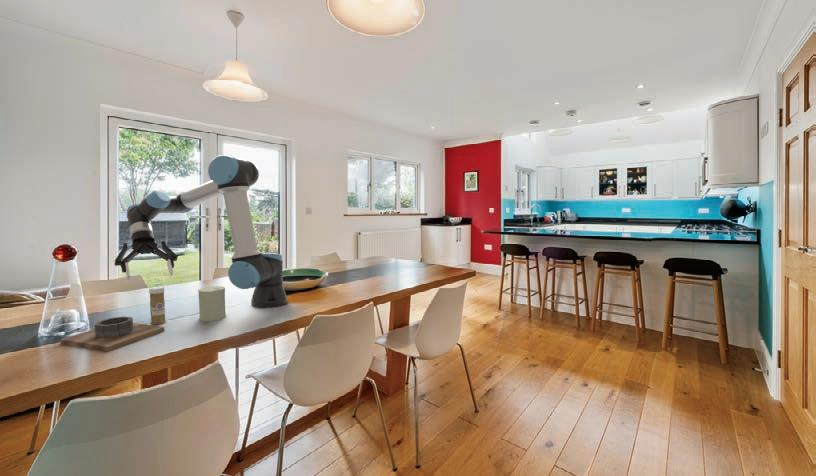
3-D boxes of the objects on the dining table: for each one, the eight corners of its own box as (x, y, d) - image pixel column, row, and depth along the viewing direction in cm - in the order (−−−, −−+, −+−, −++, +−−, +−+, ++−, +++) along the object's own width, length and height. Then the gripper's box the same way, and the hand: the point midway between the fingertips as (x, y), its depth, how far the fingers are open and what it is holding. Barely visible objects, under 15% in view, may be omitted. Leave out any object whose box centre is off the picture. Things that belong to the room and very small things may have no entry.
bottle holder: (164, 331, 120) (163, 315, 119) (107, 351, 103) (106, 333, 102) (121, 325, 125) (120, 310, 124) (60, 344, 108) (59, 326, 107)
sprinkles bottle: (156, 325, 125) (154, 289, 124) (147, 323, 127) (146, 288, 126) (168, 321, 129) (167, 286, 128) (160, 320, 131) (159, 285, 130)
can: (214, 322, 130) (213, 291, 129) (193, 320, 132) (192, 289, 131) (231, 314, 139) (230, 285, 138) (211, 313, 141) (210, 284, 140)
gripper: (176, 239, 154) (186, 277, 145) (102, 242, 137) (108, 286, 128) (178, 228, 150) (189, 266, 141) (102, 230, 133) (109, 274, 123)
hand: (150, 276), depth 134 cm, fingers open, 13 cm apart
